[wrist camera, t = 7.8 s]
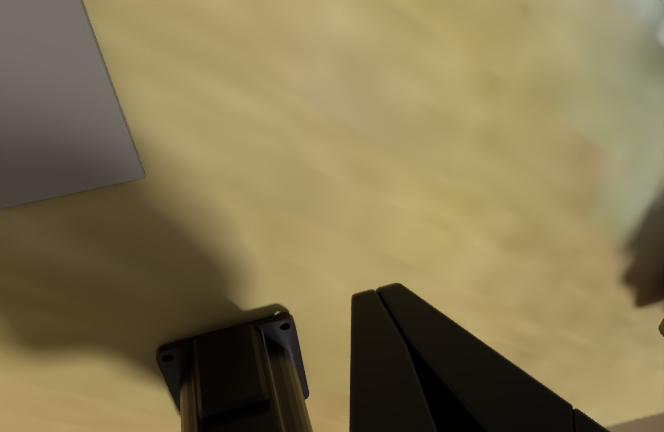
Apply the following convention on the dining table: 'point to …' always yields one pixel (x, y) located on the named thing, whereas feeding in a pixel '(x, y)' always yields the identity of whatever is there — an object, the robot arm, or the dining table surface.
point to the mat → (57, 106)
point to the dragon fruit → (662, 328)
